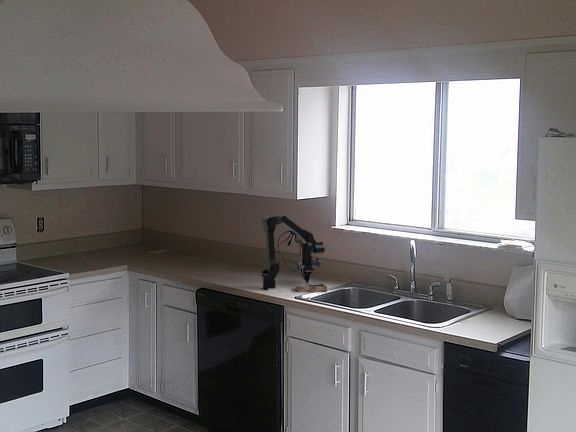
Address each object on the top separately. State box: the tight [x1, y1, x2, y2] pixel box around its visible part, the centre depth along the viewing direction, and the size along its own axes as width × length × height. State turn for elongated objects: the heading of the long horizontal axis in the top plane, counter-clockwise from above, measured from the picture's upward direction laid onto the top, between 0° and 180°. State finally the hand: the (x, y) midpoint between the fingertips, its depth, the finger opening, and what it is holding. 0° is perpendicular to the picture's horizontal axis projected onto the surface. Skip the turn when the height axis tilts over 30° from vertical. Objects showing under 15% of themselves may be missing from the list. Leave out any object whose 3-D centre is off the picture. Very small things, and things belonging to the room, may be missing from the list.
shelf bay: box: [294, 282, 328, 293], centre depth 406 cm, size 16×12×3 cm
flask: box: [304, 282, 324, 286], centre depth 410 cm, size 9×3×11 cm
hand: (306, 281), depth 424 cm, fingers open, 9 cm apart
